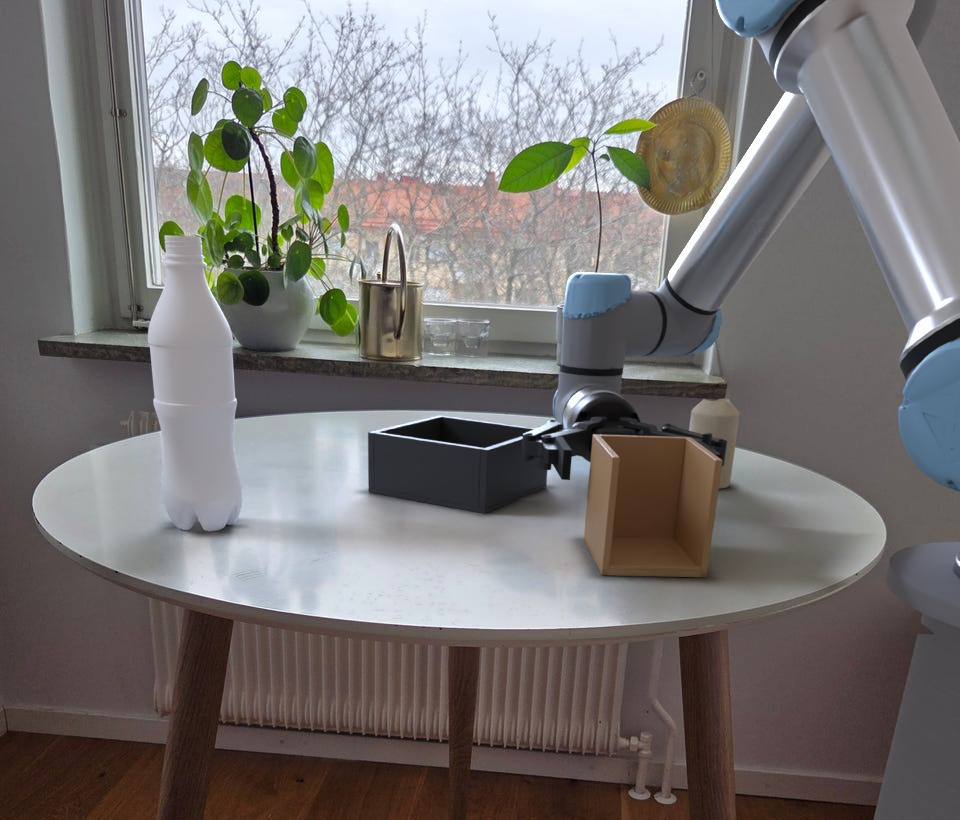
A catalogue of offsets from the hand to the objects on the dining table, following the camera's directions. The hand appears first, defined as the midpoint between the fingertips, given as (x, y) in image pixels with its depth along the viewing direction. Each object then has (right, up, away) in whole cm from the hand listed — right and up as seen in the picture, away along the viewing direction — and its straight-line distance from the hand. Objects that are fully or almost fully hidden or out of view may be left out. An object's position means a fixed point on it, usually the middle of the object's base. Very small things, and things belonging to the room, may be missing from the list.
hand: (641, 467), depth 85 cm
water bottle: (-41, -5, +3) cm, 41 cm away
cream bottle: (+13, +3, +28) cm, 30 cm away
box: (0, -8, -1) cm, 8 cm away
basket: (-17, +1, +20) cm, 26 cm away
